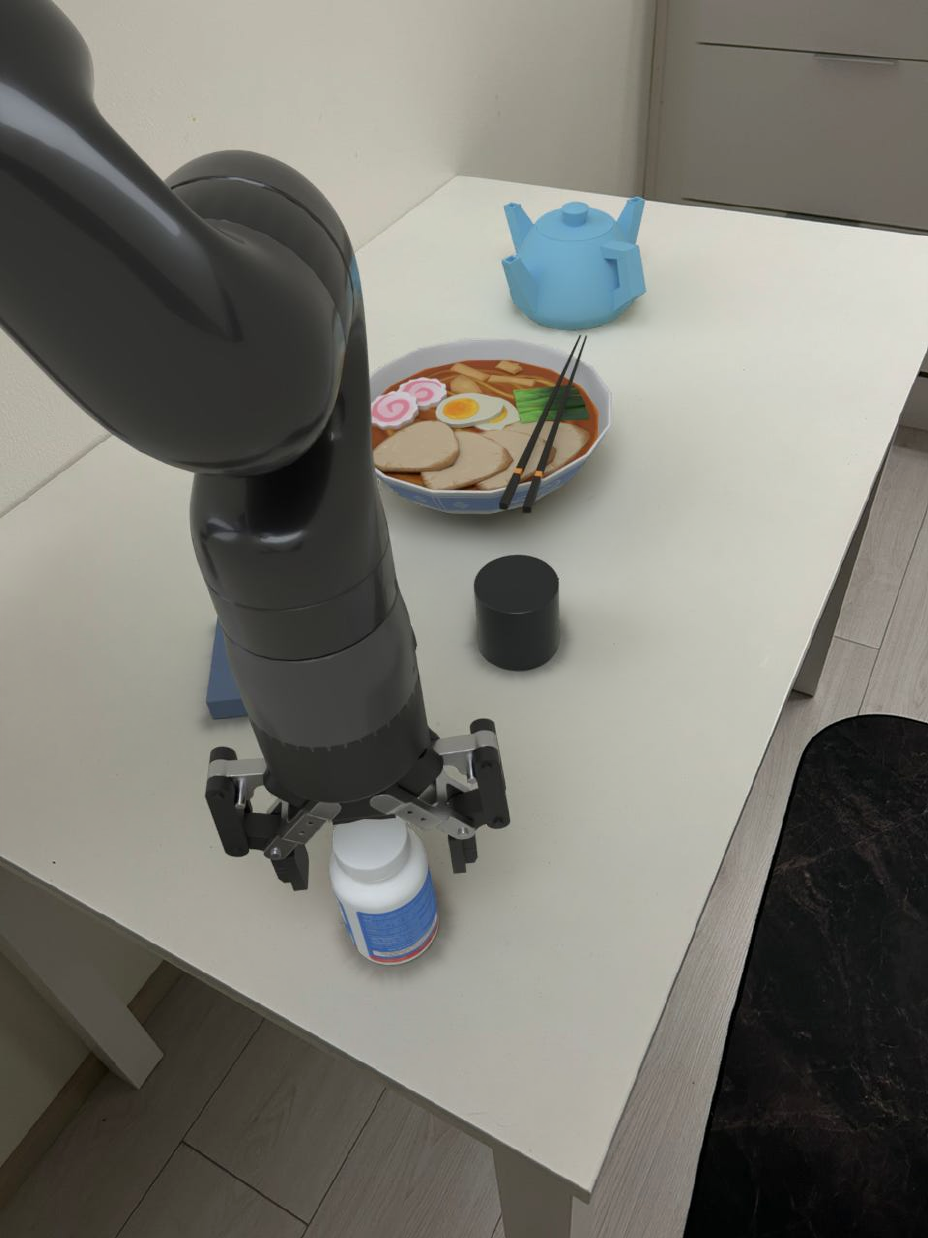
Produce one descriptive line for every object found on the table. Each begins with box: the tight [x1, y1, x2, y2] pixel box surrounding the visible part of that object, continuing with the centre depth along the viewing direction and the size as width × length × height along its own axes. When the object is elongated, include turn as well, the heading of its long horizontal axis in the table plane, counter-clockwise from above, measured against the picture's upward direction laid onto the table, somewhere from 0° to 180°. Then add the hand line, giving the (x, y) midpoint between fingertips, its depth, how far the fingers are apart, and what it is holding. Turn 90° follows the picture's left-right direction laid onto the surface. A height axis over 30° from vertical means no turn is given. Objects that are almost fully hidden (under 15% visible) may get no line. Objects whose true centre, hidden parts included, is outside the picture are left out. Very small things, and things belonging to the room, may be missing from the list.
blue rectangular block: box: [205, 616, 248, 720], centre depth 72 cm, size 9×5×2 cm, turn 5°
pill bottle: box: [328, 816, 440, 966], centre depth 54 cm, size 6×5×10 cm
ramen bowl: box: [369, 334, 613, 515], centre depth 84 cm, size 25×23×8 cm
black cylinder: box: [473, 554, 560, 672], centre depth 70 cm, size 6×6×6 cm
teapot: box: [501, 196, 647, 331], centre depth 103 cm, size 15×15×11 cm
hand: (381, 867), depth 53 cm, fingers open, 8 cm apart
